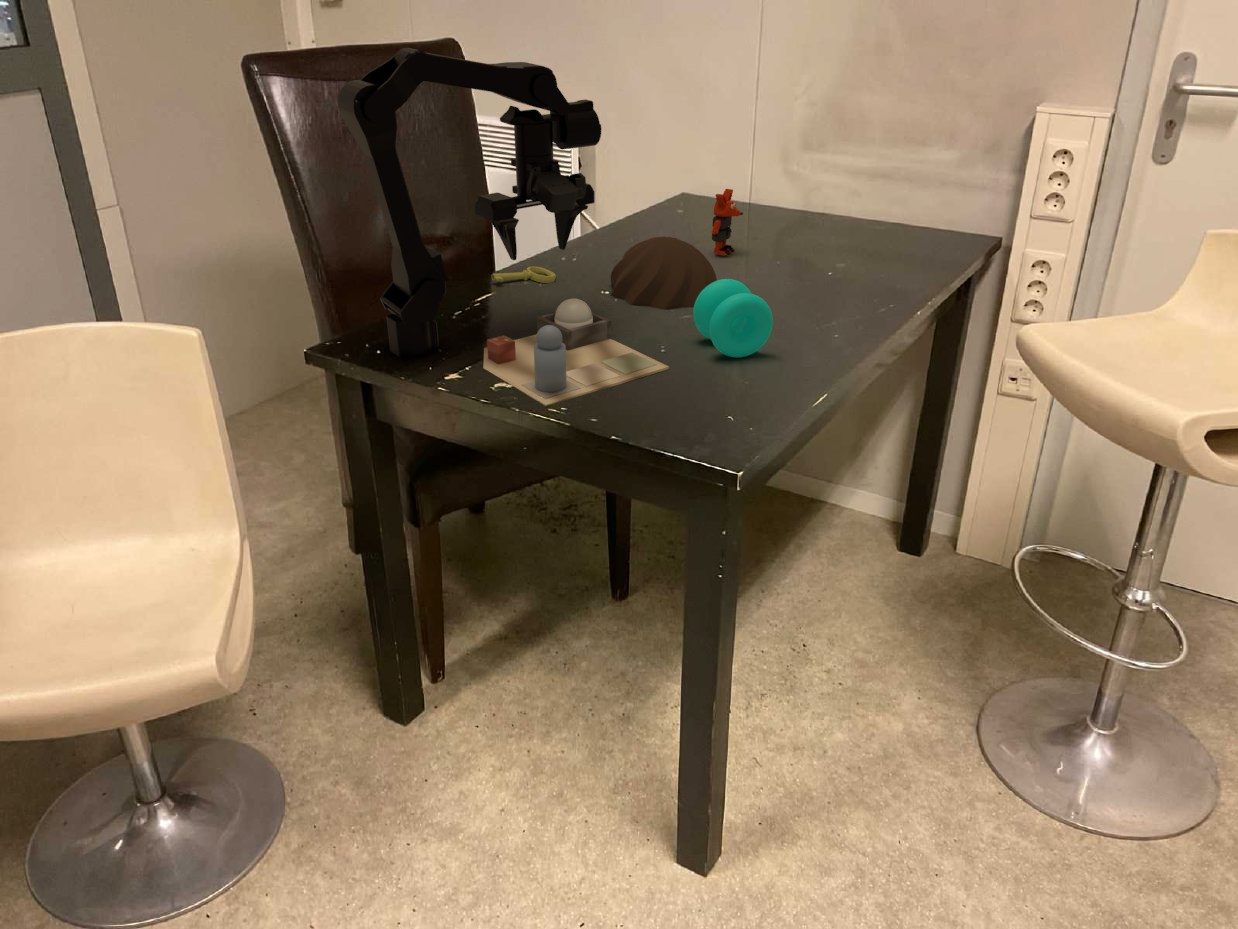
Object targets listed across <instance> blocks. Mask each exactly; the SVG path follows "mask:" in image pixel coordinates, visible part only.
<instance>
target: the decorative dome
mask: <svg viewBox="0 0 1238 929" xmlns="http://www.w3.org/2000/svg"><path fill="white" fill-rule="evenodd" d="M715 281H717V275H716V272H715V270H714V267H713V266H712V264H711V263H710V261H709V260H708V258H707V257H706V256H705V255H704V254H703V253H702V252H701V251H700V250H699V249H697V247H695V246H693V245H692V244H690V243H689V242H686V241H684V240H681V239H679V238H677V237H676V238H675V237H672V236H655V237H651V238H648V239H645V240H643V241H640V242H637V243H635V244H634V245H633V246H631V247H630V248H628V250H626V252H624V254H623V256H622V259H620V260H619V262H617V263H616V264H615V266H614V267H613V268H612V270H611V272H610V285H611V287H612V290H611V293H610V296H611V297H615V298H617V299H621V300H624V301H625V302H627V304H629V305H630V306H646V307H651V308H655V309H658V310H664V311H665V310H670V309H671V310H672V309H676V308H694V305H695V302H696V299H697V297H698V296H699V294H700V293H701V291H702V290H703V289H704V288H705V287H707V286H708V285H709V284H711V283H713V282H715Z"/></svg>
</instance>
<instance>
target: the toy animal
mask: <svg viewBox="0 0 1238 929" xmlns="http://www.w3.org/2000/svg"><path fill="white" fill-rule="evenodd" d="M733 192H734V190H733V188H731V189H730V188H725V189H724V191H723V194H721V193H716V194H715V200H716V201H715V204H714V206H713V207H714V208H713V215H714V217H713V218H712V230H711V240H712V241H713V242H715V244H714V246H715V247H714V248H713V254H716V255H719V256H730V255H731V253H735V249H734V247H732V245H731V244H730V245H729V244H727V240H729V239H730V238H731V236H732V228H731V225H732V218H733V217H739V216H742V215H743V214H744V212H742V211H741V212H740V210H739V209H738V208H737V207H736V206H737V204H736V203H735V202H734V201H733V200H731V199H732V197H733Z"/></svg>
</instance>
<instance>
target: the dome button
mask: <svg viewBox="0 0 1238 929" xmlns="http://www.w3.org/2000/svg"><path fill="white" fill-rule="evenodd" d="M591 311H592V310H591V308H590V306H589V305H588V304H587V303H586V302H585V301H583V300H581V299H579V298H568V299H565V300H563V301H562V302H561V303H559V305H558V306H557V308H556V309H555V312H556V314H555V323H556V324H558V325H560V326H562V327H564V328H567V329H572V328H576V327H580V326H583V325H587V324H591V323H593V316H592V312H593V311H592V312H591Z"/></svg>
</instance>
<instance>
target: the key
mask: <svg viewBox="0 0 1238 929" xmlns="http://www.w3.org/2000/svg"><path fill="white" fill-rule="evenodd" d="M556 278H557V276H556V273H554V272H553V271H551V270H549V269H547V268H544V267H541V266H528V267H527V268H526V269H523V270H522V271H520V272H504V273H502V272H501V273H499V272H498V273H492V274H491V280H492V281H497V282H504V281H508V280H511V281H512V280H523V281H524V282H525V281H528V279H530V280H532V281H534V282H538V283H542V284H543V283H544V284H549V283H554V282H555V281H556Z"/></svg>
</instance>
